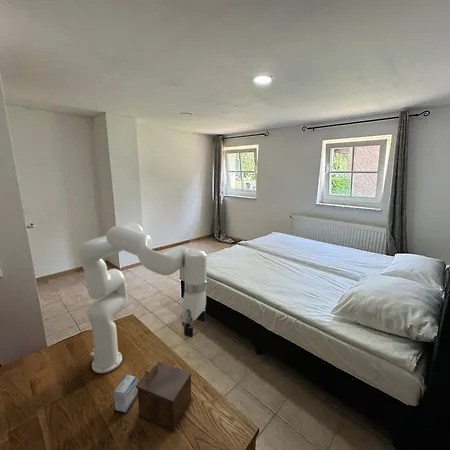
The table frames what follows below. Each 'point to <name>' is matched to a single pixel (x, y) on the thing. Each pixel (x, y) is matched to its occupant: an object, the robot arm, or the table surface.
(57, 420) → the table surface
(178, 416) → the chest
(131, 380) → the medicine box
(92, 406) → the table surface
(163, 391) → the lid
